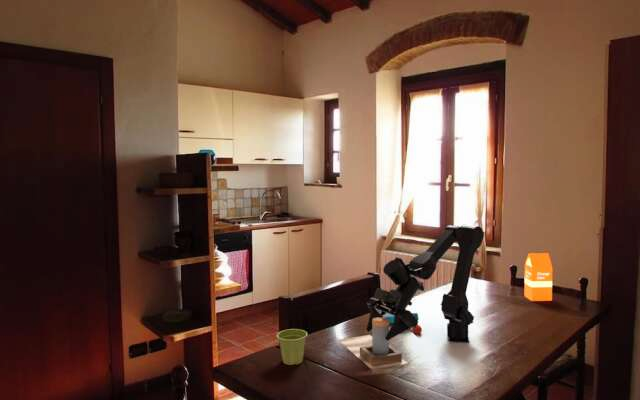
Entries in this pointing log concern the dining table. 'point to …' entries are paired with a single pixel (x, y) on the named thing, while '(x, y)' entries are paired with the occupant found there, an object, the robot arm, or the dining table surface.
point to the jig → (364, 352)
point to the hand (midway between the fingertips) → (376, 335)
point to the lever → (415, 331)
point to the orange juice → (538, 277)
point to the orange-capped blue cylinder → (380, 336)
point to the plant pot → (292, 345)
